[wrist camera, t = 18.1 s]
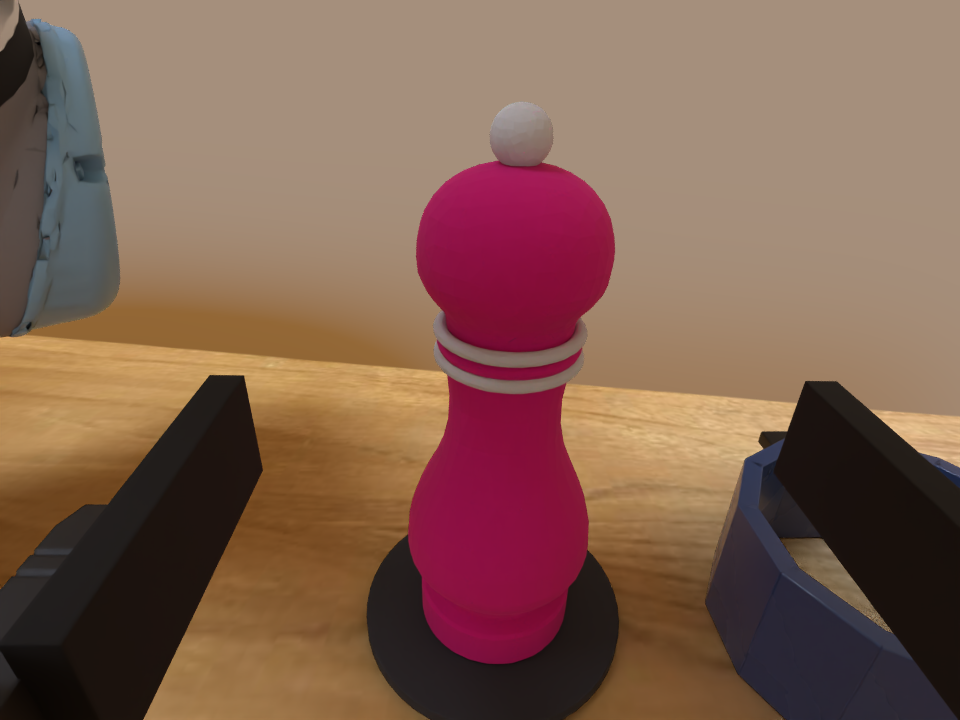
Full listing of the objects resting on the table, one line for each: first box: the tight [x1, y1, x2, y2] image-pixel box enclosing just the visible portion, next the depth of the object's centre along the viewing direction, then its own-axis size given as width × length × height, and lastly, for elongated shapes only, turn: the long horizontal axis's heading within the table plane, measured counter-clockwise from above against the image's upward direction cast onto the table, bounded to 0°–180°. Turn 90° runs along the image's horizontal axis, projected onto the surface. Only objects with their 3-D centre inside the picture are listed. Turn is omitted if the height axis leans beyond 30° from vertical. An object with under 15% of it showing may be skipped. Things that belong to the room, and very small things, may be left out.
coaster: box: [367, 535, 619, 720], centre depth 25 cm, size 11×11×1 cm
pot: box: [705, 431, 960, 720], centre depth 23 cm, size 13×16×6 cm
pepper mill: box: [408, 102, 615, 664], centre depth 20 cm, size 7×7×20 cm
